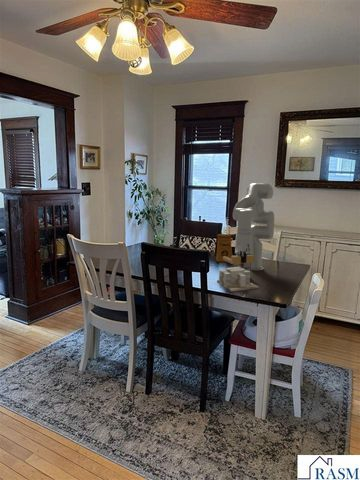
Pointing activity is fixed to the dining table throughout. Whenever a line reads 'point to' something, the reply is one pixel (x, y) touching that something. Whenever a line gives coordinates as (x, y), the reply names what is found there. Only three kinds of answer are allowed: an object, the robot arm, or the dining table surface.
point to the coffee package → (223, 247)
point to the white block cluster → (236, 279)
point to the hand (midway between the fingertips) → (242, 262)
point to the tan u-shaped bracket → (239, 259)
